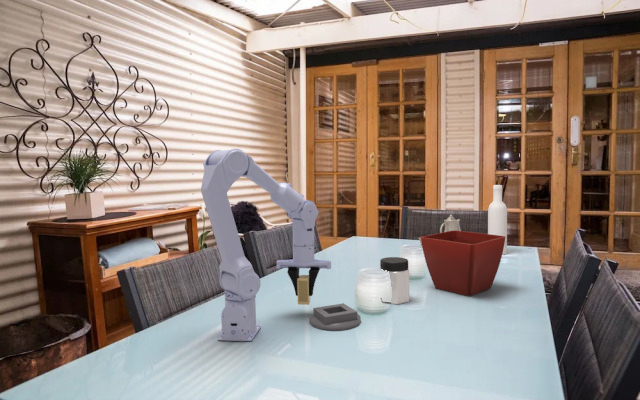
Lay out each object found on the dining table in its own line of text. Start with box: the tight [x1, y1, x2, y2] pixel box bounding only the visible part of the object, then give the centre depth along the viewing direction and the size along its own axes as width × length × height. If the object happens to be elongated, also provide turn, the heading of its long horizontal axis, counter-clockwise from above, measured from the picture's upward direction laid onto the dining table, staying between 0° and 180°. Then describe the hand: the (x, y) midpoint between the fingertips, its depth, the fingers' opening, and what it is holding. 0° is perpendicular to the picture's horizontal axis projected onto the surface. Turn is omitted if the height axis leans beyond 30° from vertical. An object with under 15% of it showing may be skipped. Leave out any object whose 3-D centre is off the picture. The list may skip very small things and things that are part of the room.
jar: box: [379, 256, 410, 305], centre depth 130 cm, size 9×8×12 cm
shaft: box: [297, 274, 311, 306], centre depth 119 cm, size 4×3×7 cm
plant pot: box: [420, 230, 505, 297], centre depth 140 cm, size 19×19×17 cm
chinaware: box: [417, 214, 462, 247], centre depth 210 cm, size 28×17×17 cm, turn 130°
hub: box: [309, 302, 361, 332], centre depth 113 cm, size 13×13×3 cm
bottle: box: [487, 184, 508, 256], centre depth 193 cm, size 8×8×30 cm
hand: (304, 294), depth 119 cm, fingers closed on shaft, 3 cm apart
